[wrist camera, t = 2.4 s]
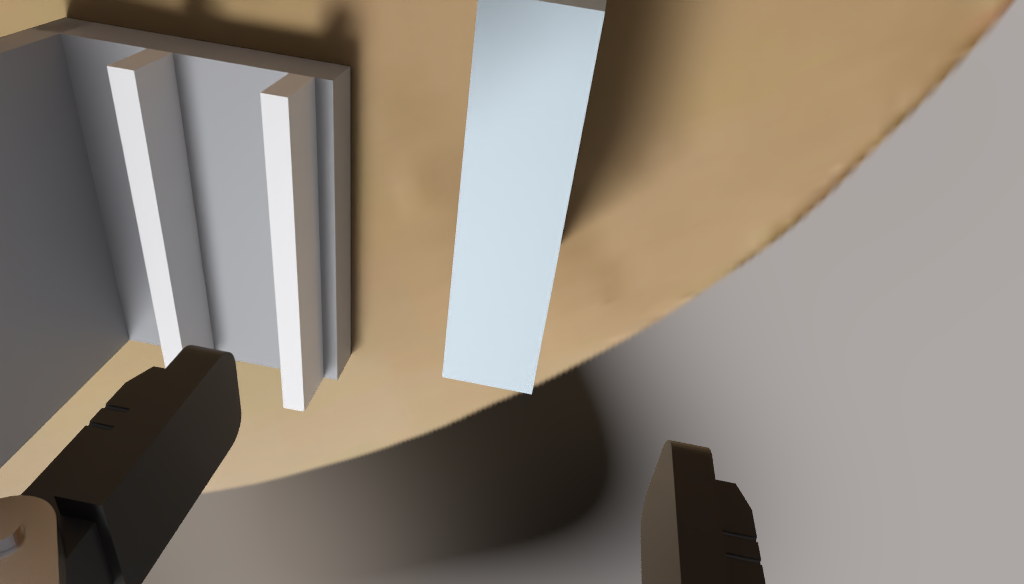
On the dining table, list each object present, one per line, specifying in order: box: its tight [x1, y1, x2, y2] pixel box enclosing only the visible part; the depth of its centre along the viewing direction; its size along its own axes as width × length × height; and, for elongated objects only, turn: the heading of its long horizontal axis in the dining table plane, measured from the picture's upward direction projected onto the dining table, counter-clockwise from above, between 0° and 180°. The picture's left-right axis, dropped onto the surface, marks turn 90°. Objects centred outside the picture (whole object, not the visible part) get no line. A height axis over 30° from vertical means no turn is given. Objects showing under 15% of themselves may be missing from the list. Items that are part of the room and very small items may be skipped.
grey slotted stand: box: [0, 17, 351, 468], centre depth 26 cm, size 15×12×14 cm
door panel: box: [442, 0, 607, 394], centre depth 24 cm, size 12×3×10 cm, turn 173°
